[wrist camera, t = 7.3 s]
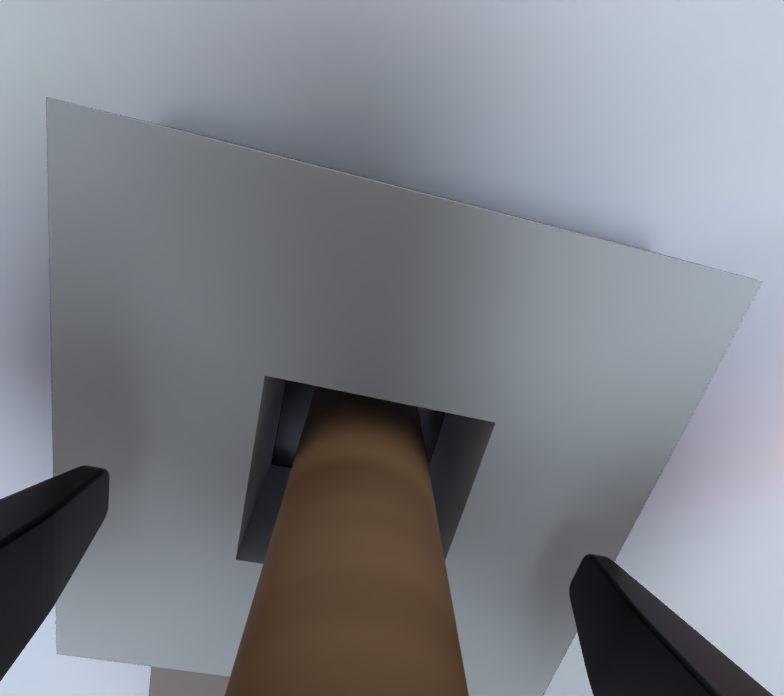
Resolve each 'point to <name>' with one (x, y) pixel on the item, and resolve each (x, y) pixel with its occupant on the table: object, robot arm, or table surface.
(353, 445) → the peg
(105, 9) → the table surface
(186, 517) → the socket block
